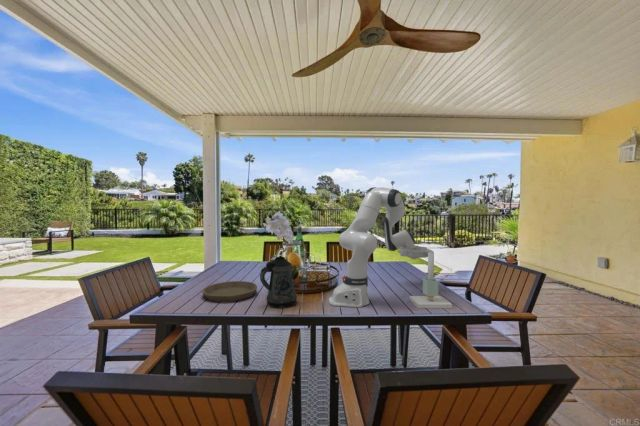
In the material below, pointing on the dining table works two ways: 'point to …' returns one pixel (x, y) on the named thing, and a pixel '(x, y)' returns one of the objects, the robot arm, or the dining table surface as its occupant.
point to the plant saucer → (229, 291)
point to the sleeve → (430, 287)
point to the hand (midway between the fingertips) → (420, 255)
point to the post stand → (430, 300)
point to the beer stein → (279, 283)
